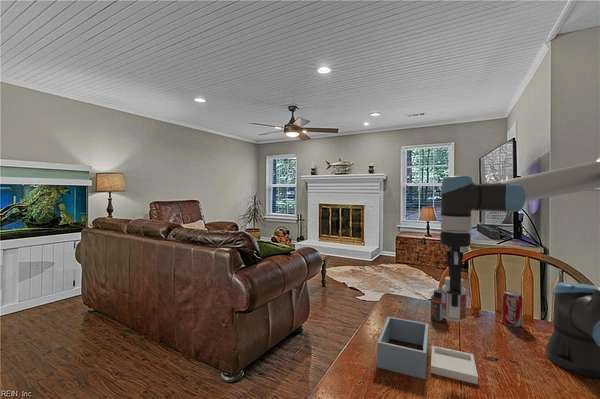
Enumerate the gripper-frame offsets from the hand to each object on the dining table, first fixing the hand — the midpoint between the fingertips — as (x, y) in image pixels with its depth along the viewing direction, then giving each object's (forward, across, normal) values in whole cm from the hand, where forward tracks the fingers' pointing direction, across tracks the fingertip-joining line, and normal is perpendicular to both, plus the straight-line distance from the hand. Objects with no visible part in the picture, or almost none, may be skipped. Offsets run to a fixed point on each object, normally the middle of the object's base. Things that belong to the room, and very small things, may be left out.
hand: (453, 312), depth 83 cm
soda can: (+16, -42, +22) cm, 49 cm away
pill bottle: (+2, 0, 0) cm, 2 cm away
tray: (+15, 0, 0) cm, 15 cm away
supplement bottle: (+16, -34, -3) cm, 37 cm away
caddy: (+15, 0, -13) cm, 20 cm away
